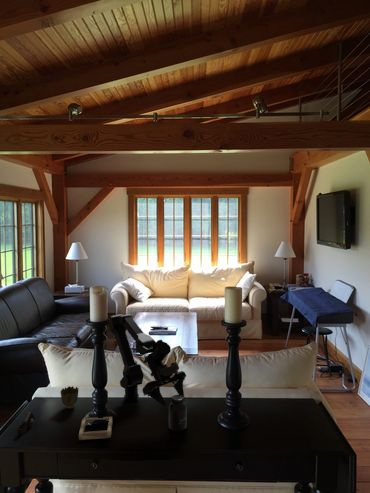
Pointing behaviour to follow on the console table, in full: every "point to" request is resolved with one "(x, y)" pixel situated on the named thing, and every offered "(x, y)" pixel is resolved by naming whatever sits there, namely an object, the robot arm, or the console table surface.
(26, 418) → the lighter
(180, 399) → the supplement bottle
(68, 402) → the potted succulent
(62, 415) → the console table surface
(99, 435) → the collar
